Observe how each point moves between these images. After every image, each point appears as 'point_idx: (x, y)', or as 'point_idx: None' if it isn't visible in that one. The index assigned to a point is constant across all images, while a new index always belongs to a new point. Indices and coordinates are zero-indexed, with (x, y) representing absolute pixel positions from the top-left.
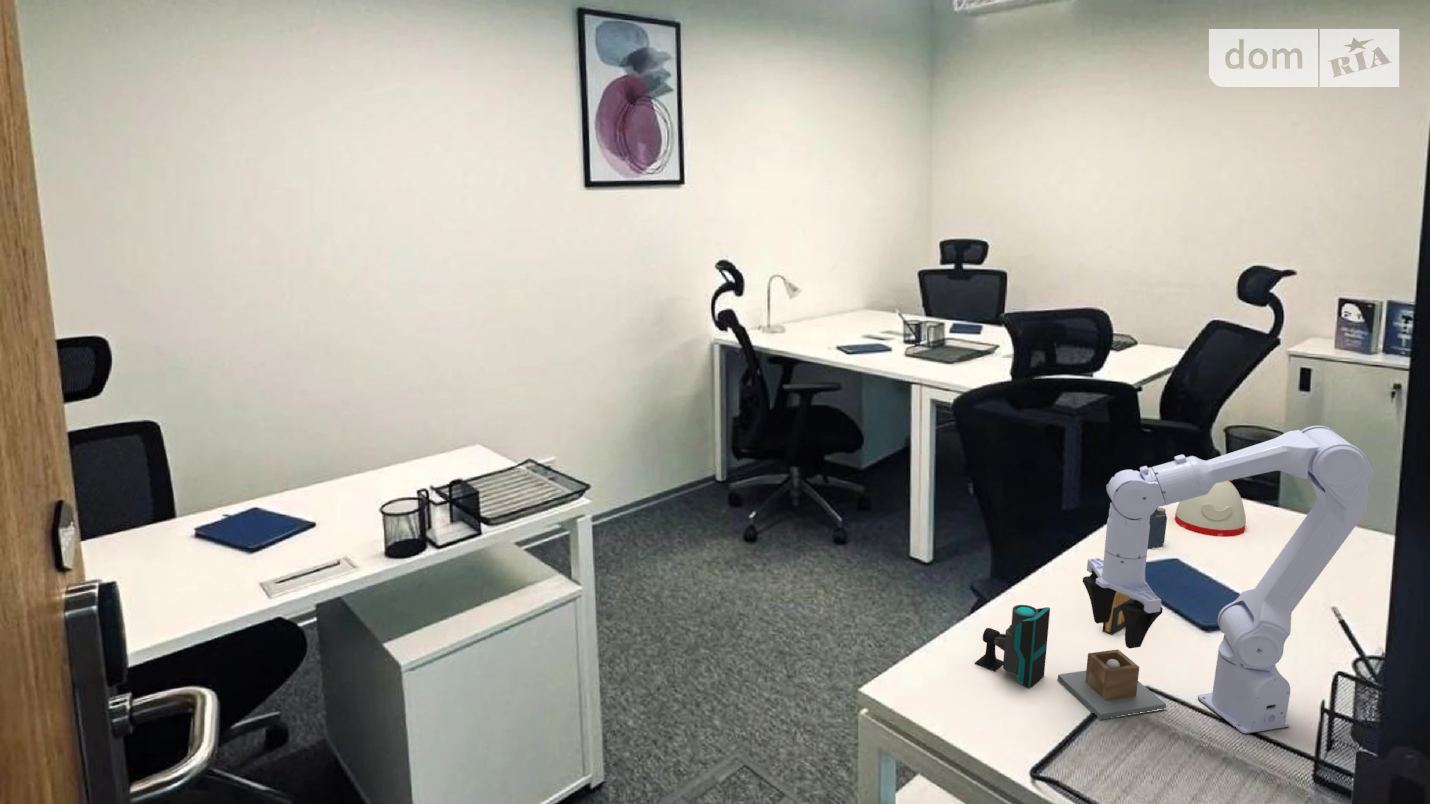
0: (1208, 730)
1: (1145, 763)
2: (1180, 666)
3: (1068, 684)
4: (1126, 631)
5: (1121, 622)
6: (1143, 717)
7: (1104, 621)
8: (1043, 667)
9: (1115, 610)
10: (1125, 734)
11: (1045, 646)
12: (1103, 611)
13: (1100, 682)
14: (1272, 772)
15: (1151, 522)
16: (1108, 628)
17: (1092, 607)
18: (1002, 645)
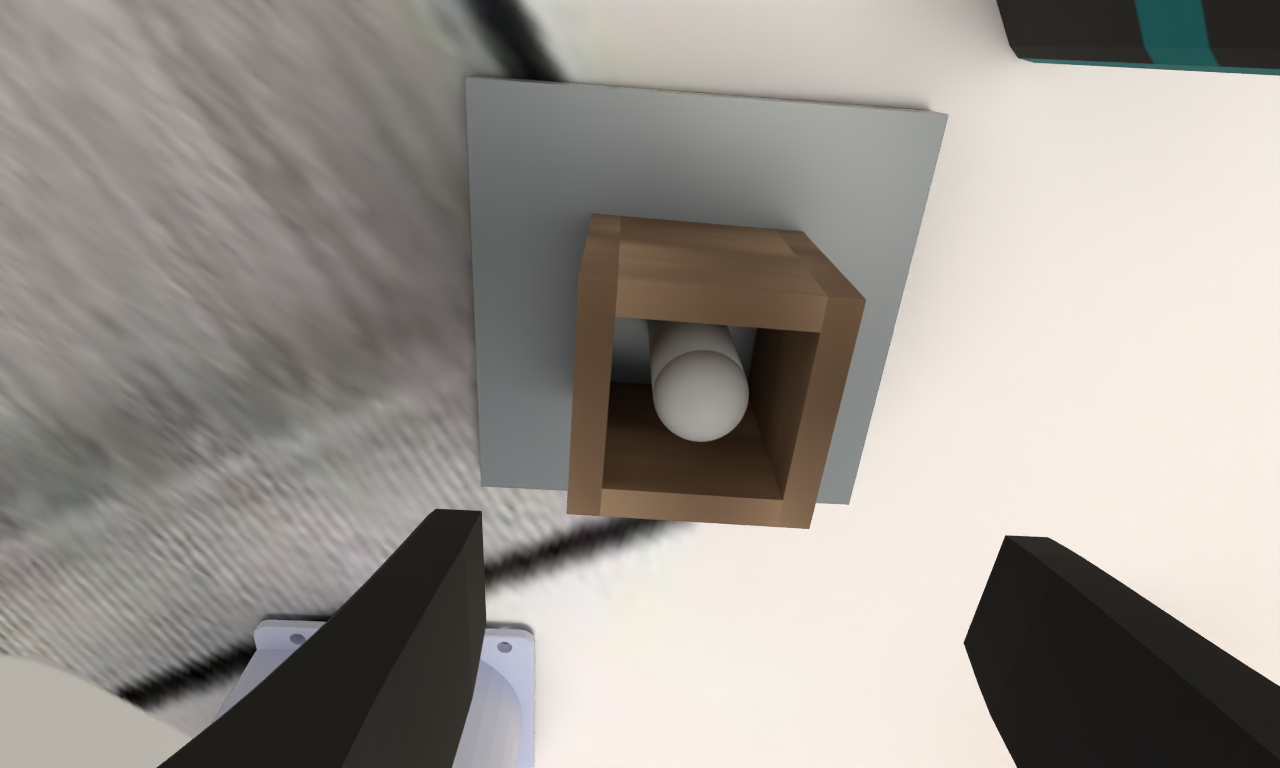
0: (308, 525)
1: (27, 40)
2: (756, 709)
3: (826, 105)
4: (374, 646)
5: None
6: (452, 334)
7: (983, 616)
8: (1048, 26)
9: None
10: (317, 129)
11: (1178, 26)
12: (1066, 709)
13: (657, 241)
14: (2, 549)
15: None
16: None
17: (1215, 655)
18: None
